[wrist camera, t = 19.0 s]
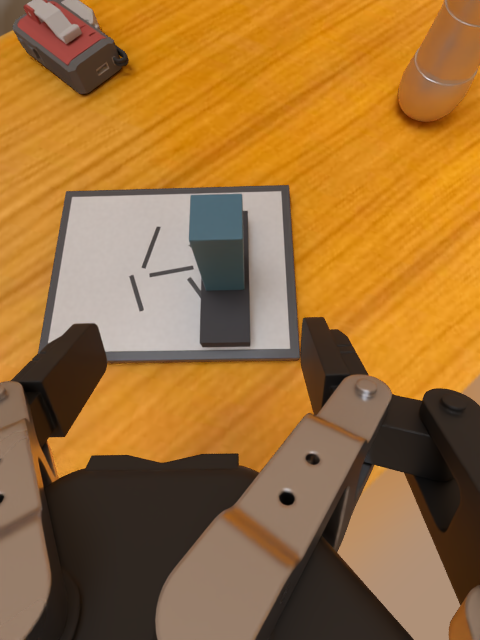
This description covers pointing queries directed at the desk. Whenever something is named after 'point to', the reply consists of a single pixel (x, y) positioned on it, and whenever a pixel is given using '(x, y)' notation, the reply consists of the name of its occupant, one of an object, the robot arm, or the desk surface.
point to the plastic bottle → (443, 63)
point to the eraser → (222, 268)
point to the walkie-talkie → (69, 42)
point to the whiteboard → (167, 275)
